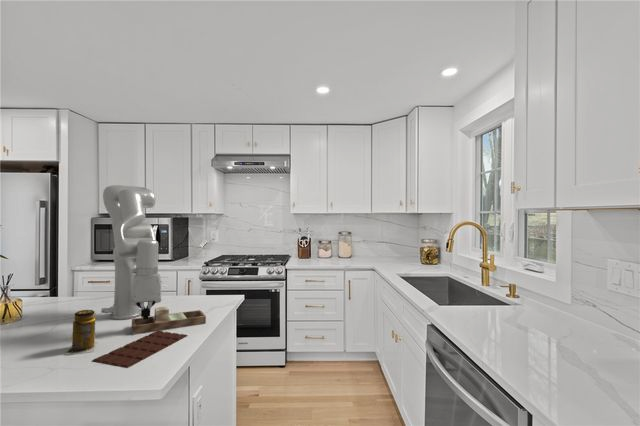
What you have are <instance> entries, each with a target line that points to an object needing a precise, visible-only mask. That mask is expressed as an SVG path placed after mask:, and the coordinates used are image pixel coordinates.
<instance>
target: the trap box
mask: <svg viewBox="0 0 640 426" xmlns="http://www.w3.org/2000/svg"><path fill="white" fill-rule="evenodd" d="M206 320H207V316H206V315H205V313H203V311H202V310H200V309H199V310H198V309H197V310H191V311H190V310H189V311H183V312H175V313H169V319H168V320H161V321H156V320H155V315H150V316H148V319H145V320H143V317H134V318H131V330H132V334H133V335H140V334H146V333H153V332H156V331H166V330H171V329H178V328H184V327H192V326H198V325H204V324H207V321H206Z"/></svg>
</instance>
